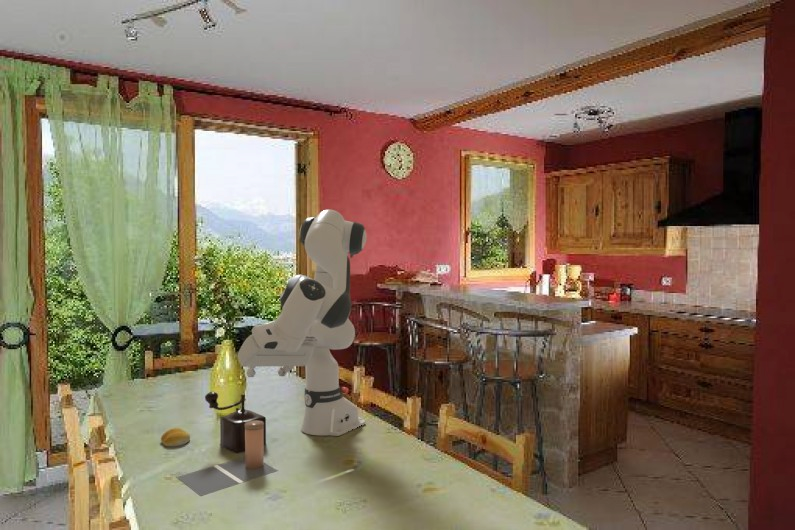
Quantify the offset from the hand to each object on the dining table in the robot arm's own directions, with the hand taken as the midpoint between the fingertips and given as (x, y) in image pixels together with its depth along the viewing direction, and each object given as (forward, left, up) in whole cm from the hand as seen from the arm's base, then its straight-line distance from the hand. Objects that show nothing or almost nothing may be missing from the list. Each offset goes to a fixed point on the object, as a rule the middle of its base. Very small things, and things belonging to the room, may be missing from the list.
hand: (265, 375), depth 144 cm
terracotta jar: (-2, -9, -28) cm, 29 cm away
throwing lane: (+6, -9, -28) cm, 30 cm away
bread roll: (+6, -44, -29) cm, 53 cm away
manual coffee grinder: (-5, -26, -28) cm, 39 cm away
